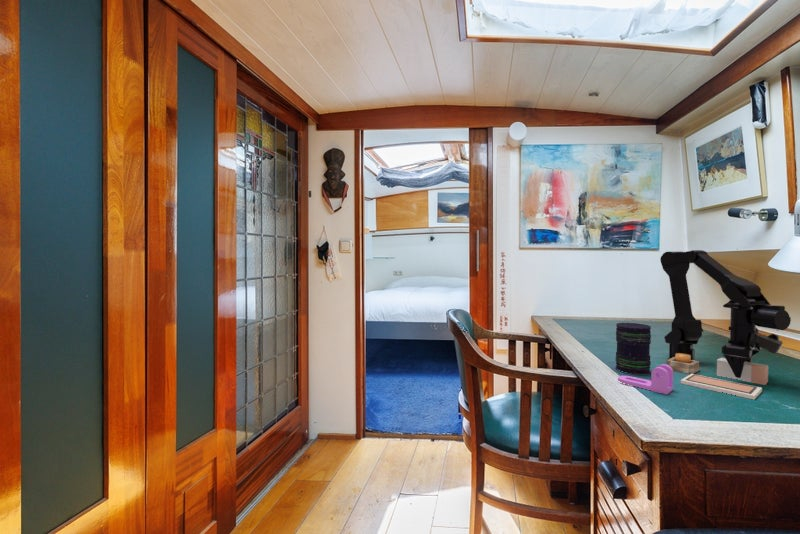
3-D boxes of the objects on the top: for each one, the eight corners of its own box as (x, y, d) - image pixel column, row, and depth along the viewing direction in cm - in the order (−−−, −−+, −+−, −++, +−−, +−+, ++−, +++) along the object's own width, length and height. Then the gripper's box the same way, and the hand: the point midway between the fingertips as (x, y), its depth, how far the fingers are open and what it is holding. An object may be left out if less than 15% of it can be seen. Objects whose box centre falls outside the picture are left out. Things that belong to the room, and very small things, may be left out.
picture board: (680, 383, 111) (680, 379, 110) (691, 376, 117) (691, 372, 117) (754, 399, 98) (754, 395, 98) (762, 391, 104) (762, 386, 104)
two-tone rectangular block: (716, 375, 118) (717, 359, 118) (720, 372, 121) (720, 357, 120) (765, 385, 109) (765, 368, 109) (767, 381, 112) (768, 365, 112)
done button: (673, 363, 124) (673, 354, 124) (677, 361, 126) (677, 352, 126) (688, 366, 121) (688, 357, 121) (692, 364, 123) (692, 355, 123)
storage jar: (644, 377, 116) (645, 329, 116) (610, 370, 124) (611, 325, 123) (654, 370, 123) (655, 325, 123) (621, 364, 130) (622, 321, 130)
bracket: (672, 390, 105) (673, 365, 105) (666, 395, 102) (667, 369, 102) (622, 379, 115) (622, 356, 115) (615, 382, 112) (615, 359, 111)
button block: (666, 369, 124) (666, 360, 124) (673, 365, 129) (673, 356, 129) (692, 374, 119) (692, 365, 119) (699, 370, 123) (699, 361, 123)
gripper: (774, 331, 102) (772, 388, 103) (785, 324, 114) (784, 375, 114) (721, 326, 111) (720, 378, 112) (736, 319, 122) (735, 366, 123)
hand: (741, 374), depth 115 cm, fingers open, 9 cm apart
